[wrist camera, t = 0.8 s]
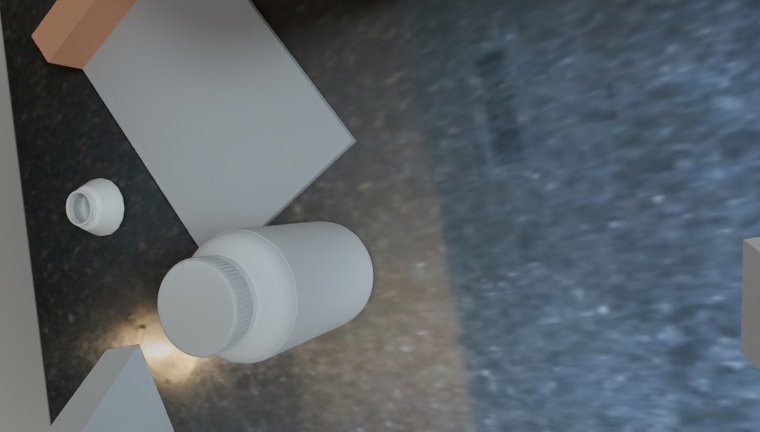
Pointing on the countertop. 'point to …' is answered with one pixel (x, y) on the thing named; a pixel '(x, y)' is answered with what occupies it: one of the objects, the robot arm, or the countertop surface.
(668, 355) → the countertop surface
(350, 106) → the countertop surface
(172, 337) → the pill bottle
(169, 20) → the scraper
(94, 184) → the lidless jar
